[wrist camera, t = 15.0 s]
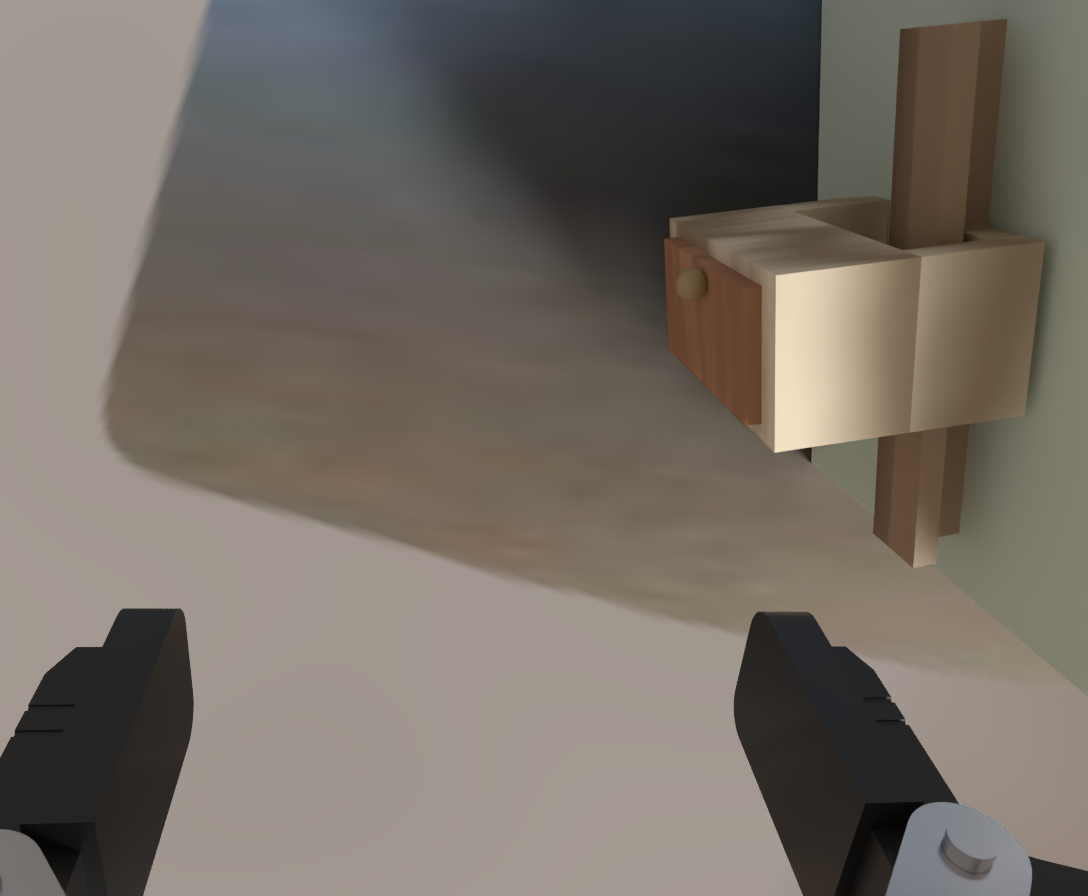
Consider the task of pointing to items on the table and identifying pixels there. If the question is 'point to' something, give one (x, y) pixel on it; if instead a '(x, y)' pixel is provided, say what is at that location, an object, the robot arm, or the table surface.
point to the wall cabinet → (850, 321)
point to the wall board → (939, 218)
